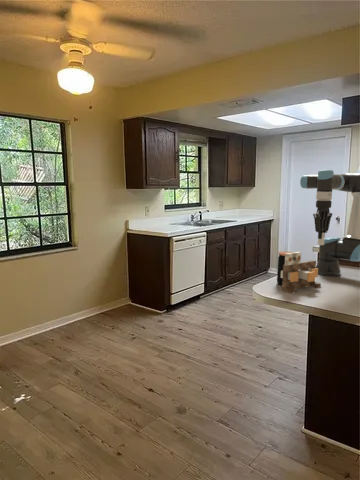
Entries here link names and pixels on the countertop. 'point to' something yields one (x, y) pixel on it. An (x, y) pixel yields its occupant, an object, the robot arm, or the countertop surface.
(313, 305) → the countertop surface
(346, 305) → the countertop surface
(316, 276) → the button
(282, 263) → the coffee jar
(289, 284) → the button panel
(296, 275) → the button
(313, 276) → the button middle
